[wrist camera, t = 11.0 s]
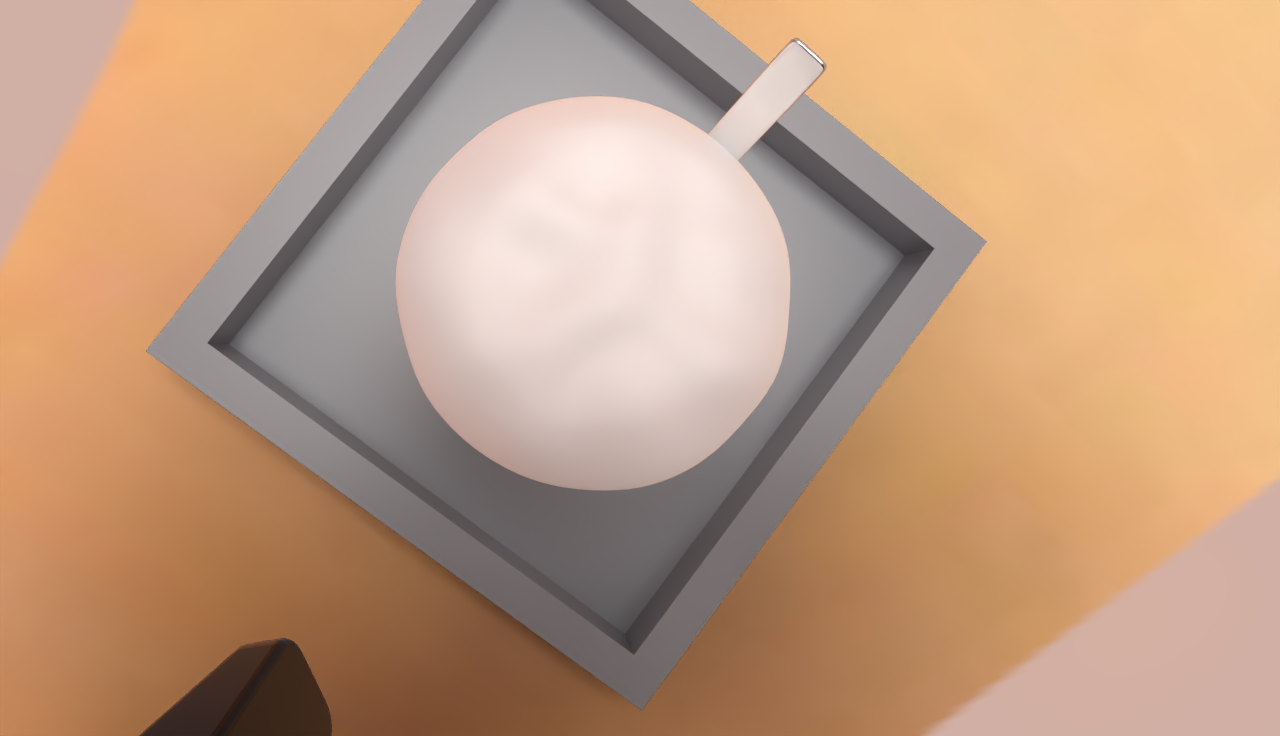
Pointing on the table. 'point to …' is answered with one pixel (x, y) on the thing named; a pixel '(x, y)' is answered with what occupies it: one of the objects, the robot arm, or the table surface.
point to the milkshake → (602, 284)
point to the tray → (422, 440)
